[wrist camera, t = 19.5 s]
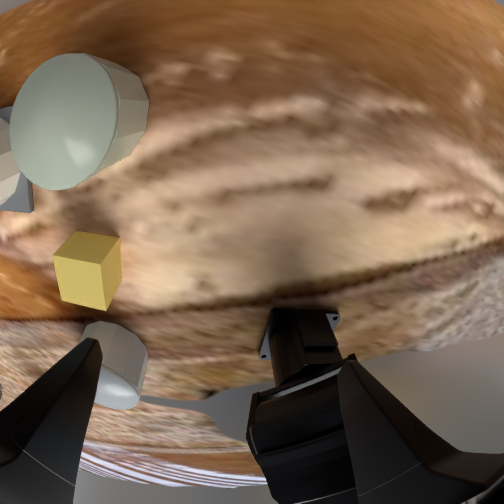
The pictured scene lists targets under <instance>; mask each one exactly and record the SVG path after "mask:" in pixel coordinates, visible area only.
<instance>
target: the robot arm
mask: <svg viewBox="0 0 504 504" xmlns="http://www.w3.org/2000/svg"><path fill="white" fill-rule="evenodd" d="M276 313H279V314H276ZM335 316H336V317H335ZM333 317H334V318H333ZM339 320H340V314H339V313H338V312H336V311H318V310H302V309H287V308H274V309H273V310H272V311H271V313H270V317H269V320H268V324H267V327H266V330H265V334H264V337H263V340H262V344H261V347H260V350H259V358H260V359H262V360H271V362H272V368H273V375H274V381H275V388H272V389H269V390H266V391H263V392H257V393H254V394H253V395H252V400H251V407H250V413H249V419H248V425H247V433H246V439H247V441H248V445H249V447H250V450H251V452H252V454H253V456H254V458H255V460H256V461H257V463H258V464H259V466H260V467H261V469H262V471H263V473H264V475H265V478H266V480H267V483H268V486H269V489H270V492H271V495H272V497H273V498H274V500H276V501H277V502H278V503H279V504H504V453H502V454H488V453H470V452H463V451H460V450H458V449H456V448H455V447H453V446H452V445H450V444H449V443H448V442H446V441H445V440H444V439H442V438H441V437H440V436H438V435H437V434H436V433H434V432H433V431H432V430H431V429H429V428H428V427H427V426H426V425H425V424H424V423H423V422H422V421H420V420H419V419H418V418H417V417H416V416H415V415H414V414H413V413H412V412H411V411H410V410H408V408H406V407H405V406H404V405H403V404H402V403H401V402H400V401H399V400H398V399H397V398H396V397H395V396H394V395H393V394H391V393H390V392H389V391H388V390H387V389H386V388H385V387H384V386H383V385H382V384H381V383H380V382H379V381H378V380H377V379H376V378H375V377H373V376H372V375H371V374H370V373H369V372H368V371H367V370H366V369H365V368H364V367H363V366H362V365H361V364H360V363H359V362H358V361H357V359H356V356H355V354H354V353H353V354H351V355H349V356H348V357H347V358H345V359H342V356H341V354H340V351H339V349H338V342H337V340H336V337H335V335H334V330H335V328H336V326H337V324H338V322H339ZM102 360H103V354H102V350H101V347H100V343H99V341H98V339H95V338H91V337H87V338H85V339H84V340H83V341H82V342H81V343H79V344H78V345H77V346H76V347H75V348H73V349H72V350H71V351H70V352H69V353H67V354H66V355H65V356H64V357H63V358H62V359H60V360H59V361H58V362H57V363H56V364H55V365H53V366H52V367H51V368H50V369H49V370H48V371H47V372H45V373H44V374H43V375H42V376H41V377H40V378H39V379H37V380H36V381H35V382H34V383H33V384H32V385H31V386H29V387H28V388H27V389H26V390H25V391H24V392H23V393H22V394H20V395H19V396H18V397H17V398H16V399H15V400H14V401H12V402H11V403H10V404H9V405H8V406H6V407H5V408H4V409H3V410H1V411H0V504H73V497H74V490H75V483H76V477H77V472H78V467H79V461H80V457H81V452H82V447H83V443H84V439H85V434H86V430H87V426H88V422H89V418H90V415H91V411H92V407H93V404H94V400H95V396H96V392H97V386H98V381H99V375H100V370H101V365H102Z"/></svg>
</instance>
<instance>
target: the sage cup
mask: <svg viewBox="0 0 504 504" xmlns="http://www.w3.org/2000/svg"><path fill="white" fill-rule="evenodd" d="M148 108H149V99H148V97H147V95H146V92H145V90H144V87H143V85H142V83H141V80H140V78H139V76H137V75H135V74H134V73H132V72H130V71H129V70H127V69H125V68H124V67H122V66H120V65H119V64H116V63H114V62H111V61H108V60H105V59H102V58H99V57H96V56H92V55H89V54H86V53H78V54H74V53H69V54H62V55H59V56H56V57H53V58H51V59H49V60H47V61H46V62H44V63H43V64H41V65H40V66H39V67H38V68H36V69H35V70H34V71H33V72H32V73H31V75H30V76H29V77H28V78H27V80H26V81H25V82H24V84H23V86H22V87H21V89H20V91H19V93H18V95H17V97H16V100H15V102H14V105H13V109H12V113H11V118H10V144H11V149H12V153H13V156H14V159H15V161H16V163H17V165H18V167H19V168H20V170H21V171H22V173H23V174H24V175H25V176H26V177H27V178H28V179H29V180H30V181H31V182H32V183H34V184H35V185H37V186H39V187H41V188H45V189H48V190H62V189H67V188H73V187H75V186H76V185H78V184H80V183H81V182H83V181H85V180H87V179H88V178H90V177H92V176H94V175H95V174H97V173H99V172H101V171H102V170H104V169H106V168H108V167H110V166H111V165H113V164H115V163H116V162H118V161H120V160H122V159H123V158H125V157H127V156H129V155H130V154H131V152H132V151H133V149H134V148H135V146H136V145H137V143H138V141H139V140H140V138H141V137H142V135H143V134H144V132H145V131H146V124H147V116H148Z"/></svg>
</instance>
